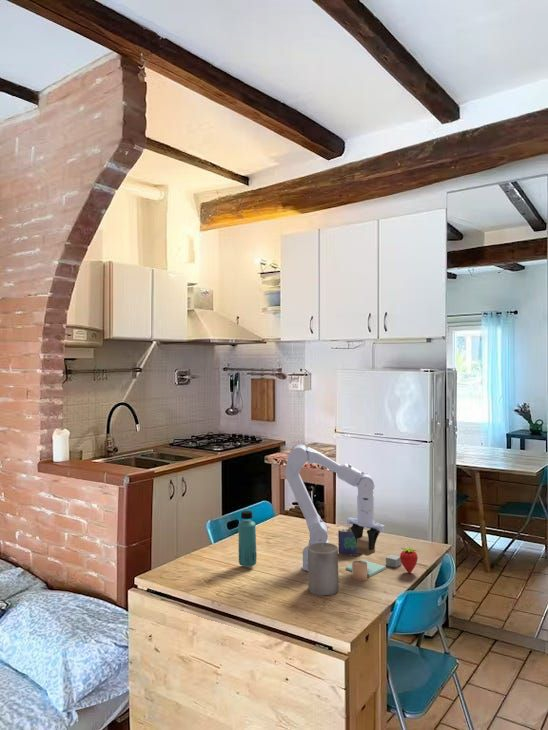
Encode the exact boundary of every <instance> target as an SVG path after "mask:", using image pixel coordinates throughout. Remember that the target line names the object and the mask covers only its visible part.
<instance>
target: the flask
mask: <svg viewBox="0 0 548 730" xmlns="http://www.w3.org/2000/svg"><path fill="white" fill-rule="evenodd" d="M351 527H352V525H349V527H348V528H342V529H339V530H338V532H337V533H338V534H337V535H338V536H337V537H338V538H337V539H338V546H337V547H338V556H339V555H340V556H361V555H363V554H359V553H357V543H356V539H355V536H354V534H353V532H352V530H351Z"/></svg>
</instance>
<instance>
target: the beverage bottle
mask: <svg viewBox="0 0 548 730" xmlns="http://www.w3.org/2000/svg"><path fill="white" fill-rule="evenodd" d="M240 514H241V515H240V518H241V519H242V520H241V521H239V523H238V524H237V527H238V554H237V555H238V564H239V565H240V566H241V567H253V566H255V565H256V564H257V535H256V534H257V533H256V530H257V529H256V527H257V526H256V522H255V521H253V520H251V519H253V511H251V510H243V511H241V513H240Z"/></svg>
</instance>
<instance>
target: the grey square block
mask: <svg viewBox="0 0 548 730" xmlns="http://www.w3.org/2000/svg"><path fill="white" fill-rule="evenodd" d="M401 565H402V563H401V560H400V555H396V554H388V556H385V566H387V567H391V568H395V569H396V568H398V567H401Z"/></svg>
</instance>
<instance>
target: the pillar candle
mask: <svg viewBox="0 0 548 730" xmlns="http://www.w3.org/2000/svg"><path fill="white" fill-rule="evenodd" d="M307 546H308V545H307ZM307 572H308V573H307V575H308V576H307V577H308V580H307V581H308V583H307V584H308V591H309V593H311V594H313V595H316V596H332V595H335V594H337V593H338V592H339V588H340V587H339V586H340V583H339V552H338V546H337V545H336V544H333V543H330V542H329V543H314V544H311V545H310V546H308V571H307Z"/></svg>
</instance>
